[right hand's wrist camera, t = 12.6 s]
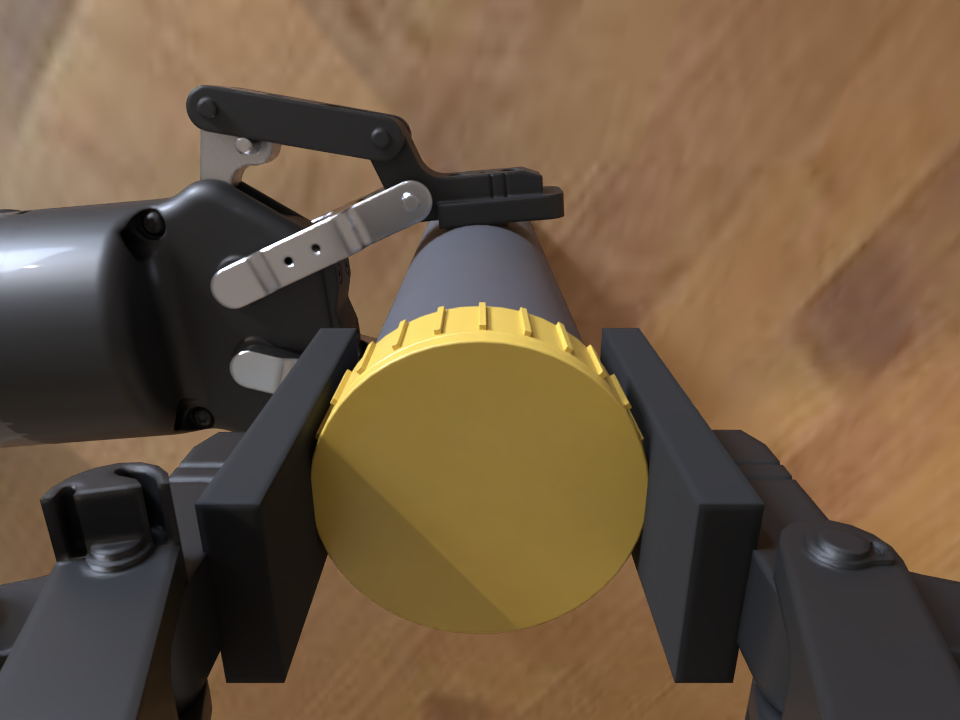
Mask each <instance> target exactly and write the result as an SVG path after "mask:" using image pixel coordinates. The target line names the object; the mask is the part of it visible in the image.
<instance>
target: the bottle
mask: <svg viewBox="0 0 960 720" xmlns="http://www.w3.org/2000/svg"><path fill="white" fill-rule="evenodd" d="M479 302H486V306H489V307H502V308H507V309H512V310H517V311H519V310H520V307H522V308H525V309H527V313H528V314H531V315H534V316H537V317H540V318H543V319H545V320H547V321H549V322H551V323H553V324H555V325H557V323H558V322H560V323H562V324H564V327H565V329H566V331H567V332H568V333H570V334H571V335H573V336H574V337H575V338H577V339H578V340H579V341H580V342H581V343H583V341H582V339H581V336H580V334H579V332H578V330H577V327H576V325H575V323H574V320H573V318H572V316H571V314H570V311H569V309H568V307H567V304H566V302H565V300H564V298H563V295H562V293H561V291H560V289H559V286H558V284H557V282H556V279H555V277H554V275H553V273H552V270H551V268H550V266H549V263H548V261H547V259H546V257H545V254H544V252H543V250H542V247H541V245H540V243H539V241H538V238H537V236H536V234H535V232H534V229H533V227H532V225H531V223H530V221H523V222H511V223H499V224H487V225H472V226H464V227H452V228H441V229H439V220H436V221H430V222H429V223H428V225H427V228H426V230H425V232H424V235H423V237H422V239H421V241H420V244H419V246H418V248H417V251H416V253H415V255H414V257H413V260H412V262H411V264H410V266H409V269H408V271H407V273H406V276H405V278H404V280H403V282H402V285H401V287H400V289H399V292H398V294H397V296H396V298H395V301H394V303H393V305H392V308H391V310H390V312H389V314H388V317H387V319H386V321H385V324H384V326H383V328H382V330H381V333H380V335H379V337H378V339H377V342H376V344H377V343H378V342H379V341H380V340H381V339H383V338H384V337H385V336H386V335H388V334H389V333H391V332H393V331H394V330H396V329H397V328H398V327H399V324H400V322H401V321H403V320H405V319H406V321H407V322H411V321H413V320H415V319H417V318H419V317H422V316H425V315H428V314H431V313H434V312H437V311H438V307H442V306H445V310H447V309H452V308H458V307H471V306H479ZM583 344H584V343H583Z"/></svg>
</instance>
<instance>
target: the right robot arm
mask: <svg viewBox="0 0 960 720" xmlns="http://www.w3.org/2000/svg"><path fill="white" fill-rule="evenodd" d="M600 361H601V363H602V365H603V366H604V367H605V369H606V371H607V372H608V374H609V375H610V376H611V375H612V374H615V376H616V377H617V379H618V381H619V383H620V385H621V387H622V389H623V391H624V393H625V395H626V397H627V399H628V401H629V403H630V405H631V407H632V408H631V409H629V410H630V412H631V414H632V416H633V418H634V420H635V422H636V424H637V426H638V428H639V430H640V432H641V434H642V436H643V438H644V442H643V447H644V451H645V454H646V458H647V462H648V485H647V495H646V505H645V514H644V523H643V528H642V531H641V534H640V537H639V539H638V541H637V543H636V545H635V547H634V549H633V551H632V553H631V554H632V557H633V560H634V563H635V566H636V569H637V572H638V575H639V578H640V581H641V584H642V587H643V590H644V592H645V595H646V598H647V601H648V604H649V607H650V610H651V613H652V616H653V619H654V622H655V625H656V628H657V631H658V634H659V637H660V640H661V643H662V646H663V649H664V652H665V655H666V658H667V661H668V664H669V666H670V669H671V672H672V675H673V678H674V681H675V683H733V679H734V674H735V668H736V663H737V657H738V651H739V648H740V650H741V652H742V655H743V657H744V659H745V661H746V663H747V665H748V667H749V669H750V671H751V673H752V675H753V680H752V685H751V690H750V695H749V701H748V706H747V711H746V716H745V720H960V582H957V581H952V580H947V579H941V578H936V577H931V576H926V575H921V574H917V573H913V572H910V571H908V569H907V567H906V565H905V563H904V561H903V560H902V558H901V557H900V556H899V555H898V554H897V552H896V551H895V550H894V549H893V548H892V547H891V546H890V545H888V544H887V543H885V542H884V541H882V540H881V539H879V538H878V537H876V536H875V535H873V534H871V533H869V532H866V531H864V530H862V529H859V528H857V527H854V526H852V525H848V524H844V523H840V522H835V521H831V520H829V519H828V518H827V517H826V516H825V515H824V513H823V512H822V511H821V510H820V509H819V508H818V506H817V505H816V504H815V503H814V502H813V500H812V499H811V498H810V497H809V496H808V494H807V493H806V492H805V491H804V490H803V489H802V487H801V486H800V485H799V484H798V483H797V481H796V480H792V476H791V474H790V473H789V472H788V471H787V470H786V468H785V467H784V466H783V465H780V461H779V460H778V459H777V458H776V457H775V455H774V454H773V453H772V452H771V451H770V449H769V448H768V447H767V446H766V445H765V444H764V443H762V442H760V441H759V440H757V439H755V438H754V437H752V436H750V435H748V434H747V433H745V432H743V431H742V430H711V428H710V427H709V426H708V424H707V423H706V422H705V420H704V419H703V417H702V416H701V415H700V413H699V412H698V410H697V409H696V408H695V406H694V405H693V403H692V402H691V401H690V399H689V398H688V396H687V395H686V394H685V392H684V391H683V389H682V388H681V387H680V385H679V384H678V382H677V381H676V380H675V378H674V377H673V375H672V374H671V373H670V371H669V370H668V368H667V367H666V366H665V364H664V363H663V361H662V360H661V359H660V357H659V356H658V354H657V353H656V352H655V350H654V349H653V347H652V346H651V345H650V343H649V342H648V340H647V339H646V338H645V336H644V335H643V333H642V332H641V331H640V329H639V328H603V329H602V343H601V358H600ZM358 362H359V353H358V339H357V328H320V330H319V331H318V332H317V334H316V335H315V337H314V338H313V339H312V341H311V342H310V344H309V345H308V346H307V348H306V349H305V351H304V352H303V353H302V355H301V356H300V358H299V359H298V360H297V362H296V363H295V365H294V366H293V367H292V369H291V370H290V372H289V373H288V374H287V376H286V377H285V378H284V380H283V381H282V383H281V384H280V385H279V387H278V388H277V390H276V391H275V392H274V394H273V395H272V397H271V398H270V399H269V401H268V402H267V404H266V405H265V406H264V408H263V409H262V411H261V412H260V413H259V415H258V416H257V418H256V419H255V420H254V422H253V423H252V425H251V426H250V427H249V429H248V430H247V432H218V433H217V434H215V435H213V436H212V437H210V438H208V439H207V440H205V441H203V442H202V443H200V444H198V445H197V446H195V447H194V448H193V449H192V450H191V451H190V453H189V454H188V455H187V456H186V457H185V459H184V460H183V461H182V462H181V463H180V468H176V469H175V470H174V472H173V473H172V474H171V475H170V476H168V473H167V472H166V471H164V470H163V469H162V468H160V467H159V466H156V465H151V464H146V463H142V462H138V463H117V464H112V465H107V466H102V467H97V468H93V469H91V470H88V471H85V472H82V473H79V474H77V475H74V476H71V477H70V478H68V479H66V480H64V481H63V482H61V483H59V484H57V485H56V486H54V487H52V488H51V489H50V490H49V491H48V492H47V493H46V494H45V495H44V496H43V497H42V498H41V499H40V502H41V506H42V510H43V513H44V517H45V521H46V524H47V528H48V531H49V535H50V539H51V542H52V546H53V550H54V553H55V557H56V561H57V562H56V564H55V566H54V568H53V570H52V572H51V574H50V575H47V576H43V577H39V578H34V579H29V580H24V581H19V582H14V583H9V584H3V585H0V720H211V714H212V703H211V696H210V690H209V685H208V680H207V677H208V675H209V673H210V671H211V669H212V667H213V665H214V663H215V661H216V659H217V656H218V654H219V652H220V650H221V656H222V661H223V667H224V672H225V678H226V683H284V682H285V679H286V676H287V673H288V670H289V667H290V664H291V661H292V658H293V655H294V653H295V650H296V647H297V644H298V641H299V638H300V635H301V632H302V629H303V626H304V623H305V620H306V617H307V614H308V611H309V608H310V605H311V602H312V599H313V596H314V593H315V590H316V587H317V584H318V582H319V579H320V576H321V573H322V570H323V567H324V564H325V561H326V558H327V555H328V553H327V551H326V549H325V547H324V545H323V543H322V541H321V539H320V537H319V534H318V531H317V528H316V521H315V512H314V502H313V493H312V483H311V463H312V458H313V454H314V451H315V448H316V444H317V441H318V440H317V439H315V436H316V433H317V431H318V429H319V427H320V425H321V423H322V421H323V419H324V417H325V415H326V413H327V411H328V409H329V407H330V405H331V403H330V402H331V400H332V398H333V396H334V394H335V392H336V390H337V388H338V386H339V384H340V382H341V380H342V378H343V376H344V374H345V373H346V371H347V370H350V371H353V369H354V368H355V366H356V365H357V363H358Z"/></svg>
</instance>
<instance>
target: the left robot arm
mask: <svg viewBox="0 0 960 720" xmlns="http://www.w3.org/2000/svg"><path fill="white" fill-rule="evenodd" d="M186 108H187V113H188V116H189V118H190V119H191V121H192V122H193V123H194V125H196V126H197V127H198V128H200V129H201V162H200V181H197V182H195V183H192V184H191V185H189V186H188V187H186V188H185V189H184V190H183V191H181V192H180V193H179V194H177V195H176V196H174V197H172V198H165V199H155V200H143V201H132V202H120V203H109V204H97V205H86V206H74V207H63V208H51V209H40V210H28V211H20V210H8V209H1V210H0V448H3V447H15V446H28V445H40V444H55V443H69V442H82V441H95V440H108V439H122V438H135V437H148V436H162V435H175V434H182V433H188V432H193V431H198V430H203V429H210V428H218V429H224V430H229V431H232V432H247V430H248V429H249V427H250V426H251V425H252V423H253V422H254V420H255V419H256V418H257V416H258V415H259V413H260V412H261V411H262V409H263V408H264V406H265V405H266V404H267V402H268V401H269V399H270V398H271V397H272V395H273V394H274V392H275V391H276V390H277V388H278V387H279V385H280V384H281V383H282V381H283V380H284V378H285V377H286V376H287V374H288V373H289V372H290V370H291V369H292V367H293V366H294V365H295V363H296V362H297V360H298V359H299V358H300V356H301V355H302V353H303V352H304V351H305V349H306V348H307V346H308V345H309V344H310V342H311V341H312V339H313V338H314V337H315V335H316V334H317V332H318V331H319V330H320V328H357V339H358V353H359V361H360V360H361V359H362V358H363V355H364V353H365V351H366V349H367V347H368V345H369V344H370V343H371V342H372V341H373V342H374V343H375V344H376V342H377V338H373V337H369V336H365V335H361V334H360V330H359V323H358V318H357V315H356V313H355V311H354V309H353V306H352V304H351V302H350V300H349V297H348V292H349V283H350V274H351V272H350V266H349V259H348V257H349V256H351V255H353V254H355V253H357V252H359V251H361V250H362V249H364V248H366V247H367V246H369V245H371V244H373V243H375V242H377V241H379V240H381V239H383V238H386V237H388V236H390V235H392V234H394V233H396V232H399V231H401V230H403V229H405V228H407V227H409V226H411V225H414V224H416V223H418V222H425V221H436V220H439V229H441V228H452V227H464V226H472V225H487V224H499V223H511V222H523V221H534V220H546V219H555V218H560V217H563V216H564V199H563V191H562V190H561V189H560V188H559V187H556V186H545V187H543V183H542V176H541V175H540V173H539V172H537V171H534V170H530V169H527V168H524V167H513V168H503V169H491V170H479V171H468V172H456V173H438V172H435V171H433V170H431V169H430V168H429V167H428V166H426V165H425V163H424V162H423V160H422V159H421V157H420V155H419V153H418V150H417V148H416V146H415V144H414V142H413V140H412V138H411V130H410V127H409V125H408V124H407V122H406V121H405V120H404V119H402V118H401V117H399V116H396V115H390V114H385V113H379V112H373V111H368V110H362V109H356V108H351V107H345V106H339V105H334V104H328V103H322V102H317V101H311V100H305V99H300V98H294V97H288V96H283V95H277V94H271V93H266V92H260V91H254V90H249V89H243V88H235V87H224V86H209V85H202V86H198V87H196V88H195V89H193V90H192V91H191V92H190V94H189V96H188V98H187V102H186ZM281 144H282V145H288V146H294V147H299V148H305V149H311V150H317V151H323V152H328V153H334V154H340V155H346V156H352V157H358V158H363V159H369V160H371V162H372V164H373V166H374V168H375V170H376V172H377V174H378V176H379V178H380V180H381V182H382V184H383V186H384V187H383V188H381V189H378V190H376V191H374V192H372V193H370V194H368V195H366V196H363V197H361V198H358V199H356V200H354V201H352V202H350V203H347V204H345V205H343V206H341V207H339V208H337V209H335V210H333V211H331V212H329V213H326V214H324V215H322V216H320V217H318V218H316V219H314V220H312V221H310V220H308V219H307V218H305V217H303V216H301V215H300V214H298V213H296V212H294V211H293V210H291V209H289V208H287V207H286V206H284V205H282V204H281V203H279V202H277V201H275V200H274V199H272V198H270V197H268V196H267V195H265V194H263V193H261V192H260V191H258V190H256V189H254V188H253V187H251V186H249V185H248V184H246V183H244V182H242V181H241V179H242V175H243V173H244V171H245V169H246V168H247V167H248V166H250V165H260V164H264V163H268V162H271V161H273V160H274V159H275V158H276V157H277V156H278V155H279V153H280V150H281Z"/></svg>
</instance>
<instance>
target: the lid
mask: <svg viewBox="0 0 960 720" xmlns="http://www.w3.org/2000/svg"><path fill="white" fill-rule="evenodd" d="M330 403H331V405H330V407H329V409H328V411H327V413H326V415H325V417H324V419H323V421H322V423H321V425H320V427H319V429H318V431H317V433H316V436H315V439H317V440H318V441H317V444H316V448H315V451H314V454H313V458H312V463H311V483H312V493H313V502H314V512H315V521H316V528H317V531H318V534H319V537H320V539H321V541H322V543H323V545H324V547H325V549H326V551H327V553H328V554H329V556H330V557H331V559H332V560H333V562H334V563H335V565H336V566H337V568H338V569H339V570H340V571H341V573H342V574H343V575H344V576H345V577H346V578H347V579H348V580H349V582H350V583H351V584H352V585H354V586H355V587H356V588H357V589H358V590H359V591H360V592H361V593H363V594H364V595H365V596H366V597H368V598H369V599H370V600H372V601H373V602H375V603H376V604H378V605H379V606H381V607H382V608H384V609H386V610H388V611H390V612H392V613H393V614H395V615H397V616H399V617H402V618H404V619H407V620H409V621H412V622H414V623H417V624H420V625H423V626H427V627H431V628H434V629H438V630H444V631H450V632H456V633H470V634H489V633H502V632H509V631H516V630H521V629H525V628H529V627H532V626H536V625H539V624H542V623H545V622H547V621H550V620H553V619H555V618H558V617H560V616H562V615H564V614H566V613H568V612H570V611H572V610H574V609H575V608H577V607H578V606H580V605H581V604H583V603H584V602H586V601H587V600H589V599H590V598H592V597H593V596H594V595H595V594H596V593H598V592H599V591H600V590H601V589H602V588H604V587H605V586H606V585H607V584H608V583H609V582H610V580H611V579H612V578H613V577H614V576H615V575H616V574H617V573H618V572H619V570H620V569H621V568H622V566H623V565H624V563H625V562H626V561H627V559H628V558H629V556H630V555H631V553H632V551H633V549H634V547H635V545H636V543H637V541H638V539H639V537H640V534H641V531H642V528H643V523H644V514H645V505H646V495H647V485H648V462H647V458H646V454H645V451H644V447H643V442H644V438H643V436H642V434H641V432H640V430H639V428H638V426H637V424H636V422H635V420H634V418H633V416H632V414H631V412H630V410H629V409H631V408H632V407H631V405H630V403H629V401H628V399H627V397H626V395H625V393H624V391H623V389H622V387H621V385H620V383H619V381H618V379H617V377H616V376H615V374H612V375H611V376H610V375H609V374H608V372H607V371H606V369H605V367H604V366H603V365H602V363H601V361H600V359H599V357H598V355H597V353H596V351H595V348H594V347H593V346H592V345H589V346H588V347H586V346H585V345H584V344H583V343H581V342H580V341H579V340H578V339H577V338H575V337H574V336H573V335H571V334H570V333H568V332H567V331H566V329H565V327H564V324H562V323H560V322H558V323H557V325H555V324H553V323H551V322H549V321H547V320H545V319H543V318H540V317H537V316H534V315H531V314H528V313H527V309H525V308H522V307H520V310H519V311H517V310H512V309H507V308H502V307H489V306H486V302H479V306H471V307H458V308H452V309H447V310H445V306H442V307H438V311H437V312H434V313H431V314H428V315H425V316H422V317H419V318H417V319H415V320H413V321H411V322H407V321H406V319H405V320H403V321H401V322H400V324H399V327H398V328H397V329H396V330H394V331H393V332H391V333H389V334H388V335H386V336H385V337H384V338H383V339H381V340H380V341H379V342H378V343H377V344H375V343H374V342H373V341H372V342H371V343H370V344H369V345H368V347H367V349H366V351H365V353H364V355H363V358H362V359H361V360H360V361H359V362H358V363H357V365H356V366H355V368H354V369H353V371H350V370H347V371H346V373H345V374H344V376H343V378H342V380H341V382H340V384H339V386H338V388H337V390H336V392H335V394H334V396H333V398H332V400H331V402H330Z"/></svg>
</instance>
